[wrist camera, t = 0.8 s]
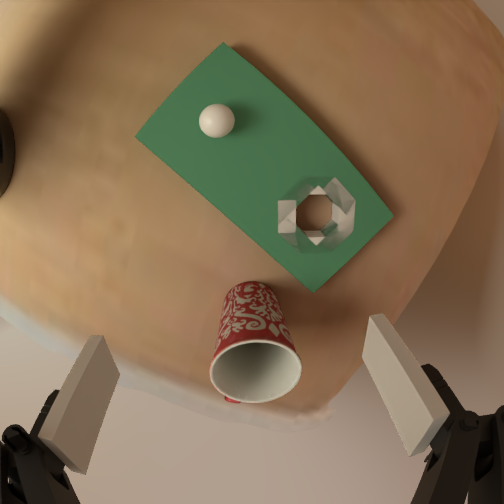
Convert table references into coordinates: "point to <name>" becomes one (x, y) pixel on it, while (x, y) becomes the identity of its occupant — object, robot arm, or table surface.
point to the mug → (253, 347)
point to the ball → (216, 120)
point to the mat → (265, 167)
